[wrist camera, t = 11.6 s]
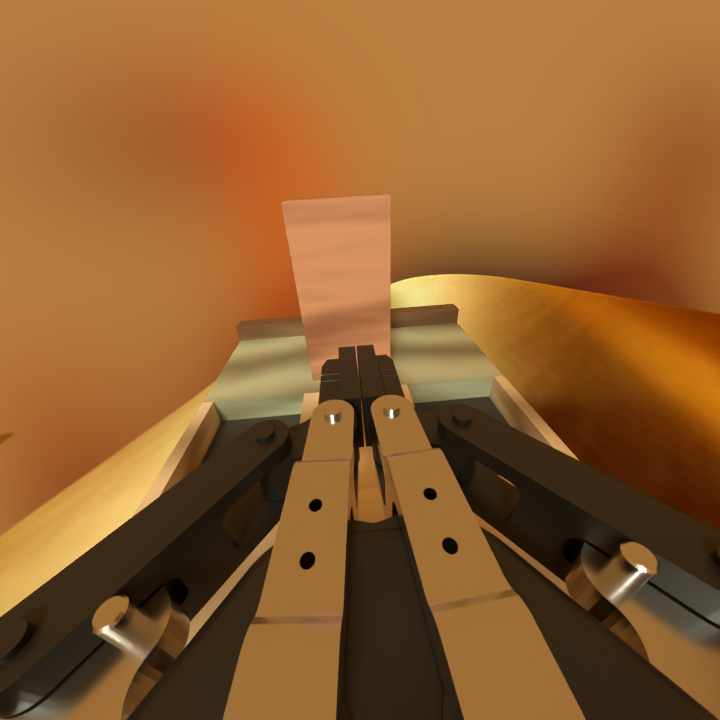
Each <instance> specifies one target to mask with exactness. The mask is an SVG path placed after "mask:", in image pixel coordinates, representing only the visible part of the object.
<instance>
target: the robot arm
mask: <svg viewBox="0 0 720 720" xmlns="http://www.w3.org/2000/svg"><path fill="white" fill-rule="evenodd" d="M338 351H339V359H328V360H326V362H325V363H324V364H323V366H322V369H321V380H320V381H321V382H320V392H319V403H318V406H317V407H316V408H315V409H314V410H313V413H312V416H311V418H310V419H308V420H307V421H305V422H303V423H300V424H297V425H294V426H292V427H289V428H288V427H287V425H286V424H285V423H284V422H282V421H280V420H274V419H272V420H265V421H261V422H259V423H257V424H255V425H253V426H252V427H250V428H249V429H248V430H246V431H245V432H244V433H243V434H241V435H240V436H239V437H237V438H236V439H235V440H233V441H232V442H231V443H229V444H228V445H227V446H225V447H224V448H223V449H221V450H220V451H219V452H217V453H216V454H215V455H214V456H212V457H211V458H210V459H208V460H207V461H206V462H204V463H203V464H202V465H200V466H199V467H198V468H196V469H195V470H194V471H192V472H191V473H190V474H188V475H187V476H186V477H185V478H183V479H182V480H181V481H179V482H178V483H177V484H175V485H174V486H173V487H171V488H170V489H169V490H167V491H166V492H165V493H163V494H162V495H161V496H160V497H158V498H157V499H156V500H154V501H153V502H152V503H150V504H149V505H148V506H146V507H145V508H144V509H142V510H141V511H140V512H138V513H137V514H136V515H134V516H133V517H132V518H131V519H129V520H128V521H127V522H125V523H124V524H123V525H121V526H120V527H119V528H117V529H116V530H115V531H113V532H112V533H111V534H109V535H108V536H107V537H105V538H104V539H103V540H102V541H100V542H99V543H98V544H96V545H95V546H94V547H92V548H91V549H90V550H88V551H87V552H86V553H84V554H83V555H82V556H80V557H79V558H78V559H76V560H75V561H74V562H73V563H71V564H70V565H69V566H67V567H66V568H65V569H63V570H62V571H61V572H59V573H58V574H57V575H55V576H54V577H53V578H51V579H50V580H49V581H47V582H46V583H45V584H44V585H42V586H41V587H40V588H38V589H37V590H36V591H34V592H33V593H32V594H30V595H29V596H28V597H26V598H25V599H24V600H22V601H21V602H20V603H19V604H17V605H16V606H15V607H13V608H12V609H11V610H9V611H8V612H7V613H5V614H4V615H3V616H1V617H0V720H720V532H719V531H717V530H716V529H714V528H712V527H710V526H708V525H706V524H704V523H702V522H700V521H698V520H696V519H694V518H692V517H690V516H688V515H686V514H684V513H682V512H680V511H678V510H676V509H674V508H672V507H670V506H668V505H666V504H664V503H662V502H660V501H658V500H656V499H654V498H652V497H650V496H648V495H646V494H644V493H642V492H640V491H638V490H636V489H634V488H632V487H630V486H628V485H626V484H624V483H622V482H620V481H618V480H616V479H614V478H612V477H610V476H608V475H607V474H605V473H603V472H601V471H599V470H597V469H595V468H593V467H591V466H589V465H587V464H585V463H583V462H581V461H579V460H577V459H575V458H573V457H571V456H569V455H567V454H565V453H563V452H561V451H559V450H557V449H555V448H553V447H551V446H549V445H547V444H545V443H543V442H541V441H539V440H537V439H535V438H533V437H531V436H529V435H527V434H525V433H523V432H521V431H519V430H517V429H515V428H513V427H511V426H509V425H507V424H505V423H503V422H501V421H499V420H498V419H496V418H494V417H492V416H490V415H488V414H486V413H484V412H482V411H480V410H478V409H476V408H474V407H471V406H469V405H465V404H450V405H447V406H445V407H443V408H442V409H441V411H440V413H439V414H436V413H429V412H424V411H420V410H418V409H416V408H414V407H413V406H412V404H411V403H410V401H409V400H407V399H406V398H405V396H404V393H403V390H402V387H401V383H400V380H399V377H398V375H397V371H396V368H395V365H394V362H393V360H392V359H391V358H390V357H389V356H387V355H376V354H375V350H374V346H373V344H371V345H359V346H357V358H356V349H355V346H348V347H339V348H338ZM357 360H358V367H357ZM358 374H359V377H358ZM361 404H362V407H361ZM362 413H363V421H362ZM363 423H364V432H365V441H366V447H368V446H372V450H373V464H374V469H375V474H376V478H377V483H378V488H379V492H380V497H381V501H382V506H383V510H384V515H385V520H382V521H379V522H376V523H370V522H364V521H359V518H358V510H359V460H360V451H359V447H364V435H363ZM477 461H478V462H479V463H481V464H483V465H484V466H486V467H487V468H489V469H491V470H492V471H494V472H495V473H497V474H498V475H500V476H502V477H503V478H505V479H506V480H508V481H509V482H511V483H512V484H513V485H514V486H513V485H511V484H510V483H508V482H507V481H505V480H504V479H502V478H500V477H499V476H497V475H496V474H494V473H493V472H491V471H489V470H488V469H486V468H485V467H483V466H482V465H480V464H478V463H477ZM473 513H475V514H476V515H477V516H479V517H480V518H481V519H483V520H484V521H485V522H487V523H488V524H489V525H490V526H492V527H493V528H494V529H496V530H497V531H498V532H500V533H501V534H502V535H504V536H505V537H506V538H507V539H509V540H510V541H511V542H513V543H514V544H515V545H517V546H518V547H519V548H520V549H522V550H523V551H524V552H526V553H527V554H528V555H530V556H531V557H532V558H534V559H535V560H536V561H537V562H539V563H540V564H541V565H543V566H544V567H545V568H547V569H548V570H549V571H550V572H552V573H553V574H554V575H556V576H557V577H558V578H560V579H561V580H562V581H564V582H565V583H566V586H567V590H568V592H569V594H570V596H568V595H567V594H566V593H565V592H563V591H562V590H561V589H560V588H559V587H557V586H556V585H555V584H554V583H553V582H551V581H550V580H549V579H548V578H546V577H545V576H544V575H543V574H542V573H540V572H539V571H538V570H537V569H536V568H534V567H533V566H532V565H531V564H529V563H528V562H527V561H526V560H525V559H523V558H522V557H521V556H520V555H519V554H517V553H516V552H515V551H514V550H512V549H511V548H510V547H509V546H508V545H506V544H505V543H504V542H503V541H502V540H500V539H499V538H498V537H496V536H495V535H493V534H492V533H490V532H489V531H487V530H485V529H484V528H482V527H480V526H479V524H478V522H477V520H476V518H475V516H474V514H473ZM279 521H280V522H279ZM278 522H279V526H278V530H277V534H276V538H275V542H274V545H273V546H272V547H270V548H269V549H268V550H267V551H266V552H264V553H263V554H262V555H261V556H260V557H259V558H258V559H257V560H256V561H255V562H254V563H253V564H252V566H251V567H250V568H249V569H248V570H247V572H246V573H245V574H244V575H243V577H242V578H241V579H240V580H239V581H238V583H237V584H236V585H235V586H234V588H233V589H232V590H231V591H230V593H229V594H228V595H227V596H226V597H225V599H224V600H223V601H222V602H221V604H220V605H219V606H218V607H217V609H216V610H215V611H214V612H213V613H212V615H211V616H210V617H209V618H208V620H207V621H206V622H205V623H204V625H203V626H202V627H201V628H200V629H199V631H198V632H197V633H196V634H195V636H194V637H193V638H192V639H191V641H190V642H189V643H188V644H187V645H186V642H187V639H188V636H189V630H190V622H191V620H192V619H193V618H194V617H195V616H196V615H197V614H198V613H199V611H200V610H201V609H202V608H203V607H204V606H205V605H206V604H207V602H208V601H209V600H210V599H211V598H212V597H213V596H214V594H215V593H216V592H217V591H218V590H219V589H220V588H221V587H222V585H223V584H224V583H225V582H226V581H227V580H228V579H229V578H230V576H231V575H232V574H233V573H234V572H235V571H236V570H237V568H238V567H239V566H240V565H241V564H242V563H243V562H244V561H245V559H246V558H247V557H248V556H249V555H250V554H251V553H252V552H253V550H254V549H255V548H256V547H257V546H258V545H259V544H260V542H261V541H262V540H263V539H264V538H265V537H266V536H267V535H268V533H269V532H270V531H271V530H272V529H273V528H274V527H275V525H276V524H277V523H278ZM185 645H186V647H185Z"/></svg>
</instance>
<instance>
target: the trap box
mask: <svg viewBox="0 0 720 720" xmlns="http://www.w3.org/2000/svg"><path fill="white" fill-rule="evenodd" d="M458 310H459V309H458V308H457V307H456V306H455V305H454V304H446V305H433V306H421V307H409V308H396V309H390V358H391V359H392V360H393V362H394V365H395V368H396V371H397V375H398V377H399V380H400V383H401V387H402V390H403V393H404V396H405V398H406V399H407V400H409V401H410V403H411V404H412V406H413V407H414V408H416V409H418V410H420V411H424V412H429V413H436V414H439V413H440V411H441V409H442V408H443V407H445V406H447V405H450V404H465V405H469V406H471V407H474V408H476V409H478V410H480V411H482V412H484V413H486V414H488V415H490V416H492V417H494V418H496V419H498V420H499V421H501V422H503V423H505V424H507V425H509V426H511V427H513V428H515V429H517V430H519V431H521V432H523V433H525V434H527V435H529V436H531V437H533V438H535V439H537V440H539V441H541V442H543V443H545V444H547V445H549V446H551V447H553V448H555V449H557V450H559V451H561V452H563V453H565V454H567V455H569V456H571V457H573V458H575V459H577V457H576V456H575V455H574V454H573V453H572V452H571V451H570V450H569V448H568V447H567V446H566V445H565V444H564V443H563V442H562V441H561V439H560V438H559V437H558V436H557V435H556V434H555V433H554V432H553V430H552V429H551V428H550V427H549V426H548V425H547V424H546V423H545V421H544V420H543V419H542V418H541V417H540V416H539V415H538V414H537V413H536V411H535V410H534V409H533V408H532V407H531V406H530V405H529V404H528V402H527V401H526V400H525V399H524V398H523V397H522V396H521V395H520V393H519V392H518V391H517V390H516V389H515V388H514V387H513V386H512V384H511V383H510V382H509V381H508V380H507V379H506V378H505V377H504V375H503V374H502V373H501V372H500V371H499V370H498V369H497V368H496V366H495V365H494V364H493V363H492V362H491V361H490V360H489V359H488V357H487V356H486V355H485V354H484V353H483V352H482V351H481V350H480V348H479V347H478V346H477V345H476V344H475V343H474V342H473V341H472V340H471V338H470V337H469V336H468V335H467V334H466V333H465V332H464V331H463V329H462V328H461V327H460V326H459V325H458V324H457V318H458ZM236 328H237V331H238V334H239V338H240V343H239V344H238V346H237V348H236V349H235V351H234V352H233V354H232V356H231V357H230V359H229V361H228V362H227V364H226V365H225V367H224V369H223V370H222V372H221V374H220V375H219V377H218V378H217V380H216V382H215V383H214V385H213V387H212V388H211V390H210V391H209V393H208V395H207V396H206V398H205V400H204V401H203V403H202V404H201V406H200V408H199V409H198V411H197V413H196V414H195V416H194V417H193V419H192V421H191V422H190V424H189V426H188V427H187V429H186V430H185V432H184V434H183V435H182V437H181V439H180V440H179V442H178V443H177V445H176V447H175V448H174V450H173V452H172V453H171V455H170V456H169V458H168V460H167V461H166V463H165V465H164V466H163V468H162V469H161V471H160V473H159V474H158V476H157V478H156V479H155V481H154V482H153V484H152V486H151V487H150V489H149V491H148V492H147V494H146V495H145V497H144V499H143V500H142V502H141V504H140V505H139V507H138V508H137V510H136V512H135V513H134V515H136V514H137V513H138V512H140V511H141V510H142V509H144V508H145V507H146V506H148V505H149V504H150V503H152V502H153V501H154V500H156V499H157V498H158V497H160V496H161V495H162V494H163V493H165V492H166V491H167V490H169V489H170V488H171V487H173V486H174V485H175V484H177V483H178V482H179V481H181V480H182V479H183V478H185V477H186V476H187V475H188V474H190V473H191V472H192V471H194V470H195V469H196V468H198V467H199V466H200V465H202V464H203V463H204V462H206V461H207V460H208V459H210V458H211V457H212V456H214V455H215V454H216V453H217V452H219V451H220V450H221V449H223V448H224V447H225V446H227V445H228V444H229V443H231V442H232V441H233V440H235V439H236V438H237V437H239V436H240V435H241V434H243V433H244V432H245V431H246V430H248V429H249V428H250V427H252V426H253V425H255V424H257V423H259V422H261V421H265V420H272V419H274V420H280V421H282V422H284V423H285V424H286V425H287V427H288V428H289V427H292V426H294V425H297V424H300V423H303V422H305V421H307V420H308V419H310V418H311V416H312V413H313V410H314V409H315V408H316V407H317V406H318V403H319V392H320V382H321V381H320V380H318V381H313V378H312V373H311V367H310V362H309V356H308V350H307V345H306V339H305V333H304V328H303V322H302V316H298V317H286V318H273V319H261V320H248V321H240V323H239V324H238V326H237V327H236ZM361 407H362V404H361ZM362 421H363V413H362ZM363 435H364V447H359V451H360V460H359V510H358V518H359V521H364V522H370V523H376V522H379V521H382V520H385V515H384V510H383V506H382V501H381V497H380V492H379V488H378V483H377V478H376V474H375V469H374V464H373V450H372V446H368V447H366V441H365V432H364V423H363ZM577 460H578V459H577ZM477 463H478V464H480V465H482V466H483V467H485V468H486V469H488V470H489V471H491V472H493V473H494V474H496V475H497V476H499V477H500V478H502V479H504V480H505V481H507V482H508V483H510V484H511V485H513V484H512V483H511V482H509V481H508V480H506V479H505V478H503V477H502V476H500V475H498V474H497V473H495V472H494V471H492V470H491V469H489V468H487V467H486V466H484V465H483V464H481V463H479V462H478V461H477ZM513 486H514V485H513ZM473 514H474V516H475V518H476V520H477V522H478V524H479V526H480V527H482V528H484V529H485V530H487V531H489V532H490V533H492V534H493V535H495V536H496V537H498V538H499V539H500V540H502V541H503V542H504V543H505V544H506V545H508V546H509V547H510V548H511V549H512V550H514V551H515V552H516V553H517V554H519V555H520V556H521V557H522V558H523V559H525V560H526V561H527V562H528V563H529V564H531V565H532V566H533V567H534V568H536V569H537V570H538V571H539V572H540V573H542V574H543V575H544V576H545V577H546V578H548V579H549V580H550V581H551V582H553V583H554V584H555V585H556V586H557V587H559V588H560V589H561V590H562V591H563V592H565V593H566V594H567V595H568V596H570V594H569V592H568V590H567V586H566V583H565V582H564V581H562V580H561V579H560V578H558V577H557V576H556V575H554V574H553V573H552V572H550V571H549V570H548V569H547V568H545V567H544V566H543V565H541V564H540V563H539V562H537V561H536V560H535V559H534V558H532V557H531V556H530V555H528V554H527V553H526V552H524V551H523V550H522V549H520V548H519V547H518V546H517V545H515V544H514V543H513V542H511V541H510V540H509V539H507V538H506V537H505V536H504V535H502V534H501V533H500V532H498V531H497V530H496V529H494V528H493V527H492V526H490V525H489V524H488V523H487V522H485V521H484V520H483V519H481V518H480V517H479V516H477V515H476V514H475V513H473ZM134 515H133V516H134ZM279 522H280V521H279ZM279 522H278V523H277V524H276V525H275V527H274V528H273V529H272V530H271V531H270V532H269V533H268V535H267V536H266V537H265V538H264V539H263V540H262V541H261V542H260V544H259V545H258V546H257V547H256V548H255V549H254V550H253V552H252V553H251V554H250V555H249V556H248V557H247V558H246V559H245V561H244V562H243V563H242V564H241V565H240V566H239V567H238V568H237V570H236V571H235V572H234V573H233V574H232V575H231V576H230V578H229V579H228V580H227V581H226V582H225V583H224V584H223V585H222V587H221V588H220V589H219V590H218V591H217V592H216V593H215V594H214V596H213V597H212V598H211V599H210V600H209V601H208V602H207V604H206V605H205V606H204V607H203V608H202V609H201V610H200V611H199V613H198V614H197V615H196V616H195V617H194V618H193V619H192V620H191V622H190V630H189V636H188V639H187V642H186V645H187V644H188V643H189V642H190V641H191V639H192V638H193V637H194V636H195V634H196V633H197V632H198V631H199V629H200V628H201V627H202V626H203V625H204V623H205V622H206V621H207V620H208V618H209V617H210V616H211V615H212V613H213V612H214V611H215V610H216V609H217V607H218V606H219V605H220V604H221V602H222V601H223V600H224V599H225V597H226V596H227V595H228V594H229V593H230V591H231V590H232V589H233V588H234V586H235V585H236V584H237V583H238V581H239V580H240V579H241V578H242V577H243V575H244V574H245V573H246V572H247V570H248V569H249V568H250V567H251V566H252V564H253V563H254V562H255V561H256V560H257V559H258V558H259V557H260V556H261V555H262V554H263V553H264V552H266V551H267V550H268V549H269V548H270V547H272V546H273V545H274V542H275V538H276V534H277V530H278V526H279ZM186 645H185V647H186Z"/></svg>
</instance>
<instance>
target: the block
mask: <svg viewBox="0 0 720 720" xmlns="http://www.w3.org/2000/svg"><path fill="white" fill-rule="evenodd" d="M281 204H282V209H283V215H284V221H285V226H286V232H287V237H288V243H289V249H290V255H291V260H292V266H293V271H294V277H295V283H296V288H297V294H298V300H299V305H300V311H301V316H302V322H303V328H304V333H305V339H306V345H307V350H308V356H309V362H310V367H311V373H312V378H313V381H318V380H321V369H322V366H323V364H324V363H325V362H326V360H328V359H339V351H338V348H339V347H348V346H355V349H356V358H357V346H359V345H371V344H373V346H374V350H375V354H376V355H387V356H389V357H390V195H385V194H378V193H373V194H357V195H342V196H327V197H314V198H313V197H312V198H299V199H292V200H288V201H285V202H282V203H281ZM357 367H358V360H357ZM358 377H359V374H358Z"/></svg>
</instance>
